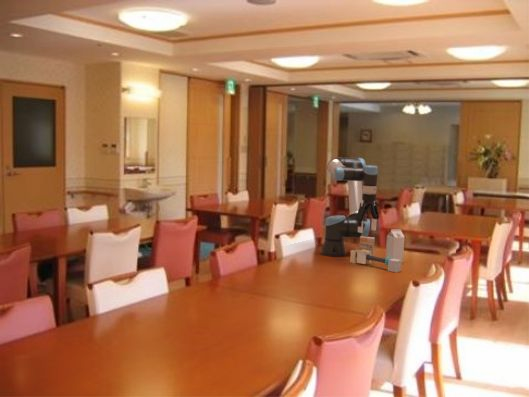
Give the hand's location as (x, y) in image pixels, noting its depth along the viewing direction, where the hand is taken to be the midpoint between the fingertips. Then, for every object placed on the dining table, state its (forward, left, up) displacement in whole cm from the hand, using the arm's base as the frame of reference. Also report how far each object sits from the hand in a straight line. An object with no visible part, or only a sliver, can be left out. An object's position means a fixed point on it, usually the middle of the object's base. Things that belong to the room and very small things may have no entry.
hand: (366, 231), depth 316 cm
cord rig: (+7, -1, -19) cm, 20 cm away
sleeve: (0, -1, -18) cm, 18 cm away
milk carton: (+6, +21, -19) cm, 29 cm away
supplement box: (-8, +13, -19) cm, 25 cm away
